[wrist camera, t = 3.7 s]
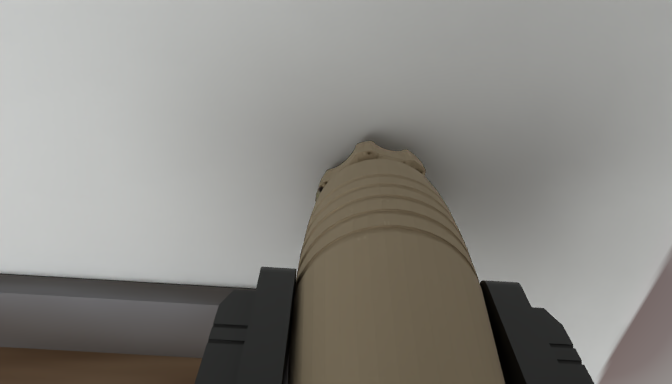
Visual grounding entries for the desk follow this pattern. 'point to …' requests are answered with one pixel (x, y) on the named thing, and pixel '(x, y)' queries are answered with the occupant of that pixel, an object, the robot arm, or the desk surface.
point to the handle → (387, 283)
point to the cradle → (103, 330)
